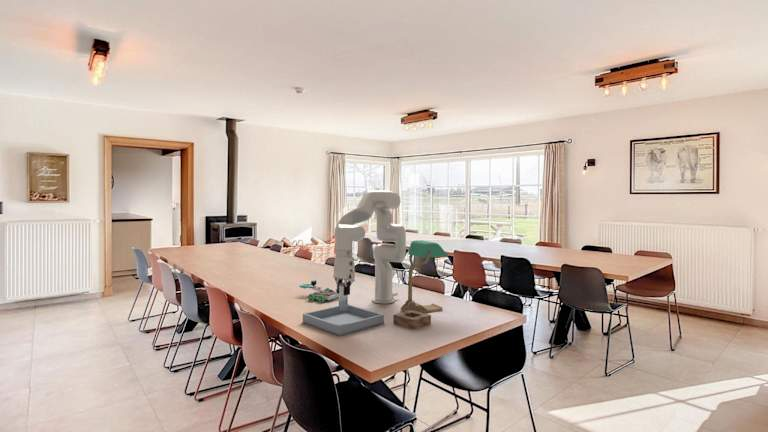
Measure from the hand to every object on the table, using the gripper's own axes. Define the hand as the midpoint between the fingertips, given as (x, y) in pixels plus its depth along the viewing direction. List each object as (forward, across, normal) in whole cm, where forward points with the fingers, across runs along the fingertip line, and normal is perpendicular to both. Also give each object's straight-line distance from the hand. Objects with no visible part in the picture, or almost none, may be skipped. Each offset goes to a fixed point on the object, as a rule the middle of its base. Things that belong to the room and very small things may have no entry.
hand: (343, 293), depth 192 cm
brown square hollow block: (+13, -22, -22) cm, 34 cm away
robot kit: (+14, +47, -21) cm, 54 cm away
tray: (+13, 0, 0) cm, 13 cm away
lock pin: (+7, 0, 0) cm, 7 cm away
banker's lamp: (+13, -11, -43) cm, 47 cm away
